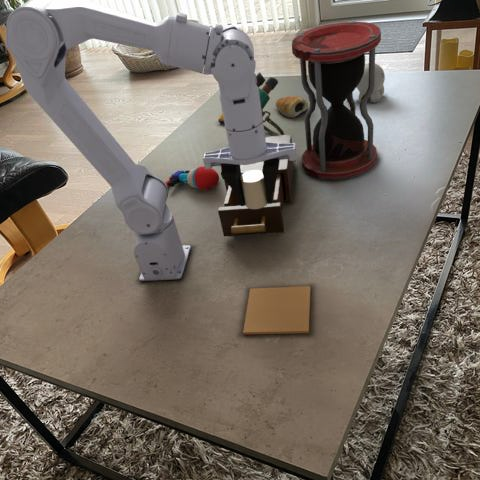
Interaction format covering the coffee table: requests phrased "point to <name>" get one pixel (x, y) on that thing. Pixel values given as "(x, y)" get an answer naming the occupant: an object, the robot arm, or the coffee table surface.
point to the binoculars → (264, 99)
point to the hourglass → (337, 97)
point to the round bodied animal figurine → (377, 85)
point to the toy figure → (195, 178)
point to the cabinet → (284, 168)
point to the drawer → (253, 214)
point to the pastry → (291, 106)
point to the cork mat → (278, 310)
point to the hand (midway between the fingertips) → (256, 201)
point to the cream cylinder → (254, 189)
